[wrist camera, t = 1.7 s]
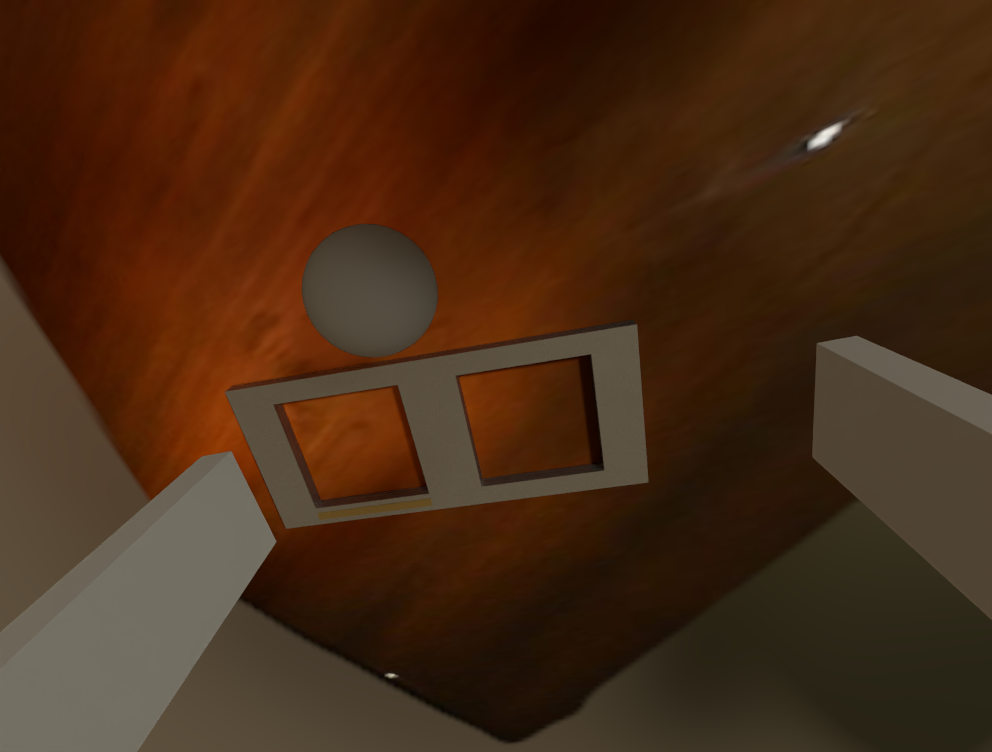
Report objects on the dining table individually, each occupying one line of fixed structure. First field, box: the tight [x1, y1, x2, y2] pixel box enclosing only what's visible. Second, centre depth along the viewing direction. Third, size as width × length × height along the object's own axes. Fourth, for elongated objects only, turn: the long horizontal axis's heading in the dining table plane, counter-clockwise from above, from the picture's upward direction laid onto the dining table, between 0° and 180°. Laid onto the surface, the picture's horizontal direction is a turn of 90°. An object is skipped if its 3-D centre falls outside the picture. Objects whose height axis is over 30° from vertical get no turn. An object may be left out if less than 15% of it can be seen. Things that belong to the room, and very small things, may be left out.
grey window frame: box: [225, 320, 648, 529], centre depth 33 cm, size 12×28×1 cm, turn 101°
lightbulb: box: [302, 224, 438, 357], centre depth 24 cm, size 6×6×11 cm
